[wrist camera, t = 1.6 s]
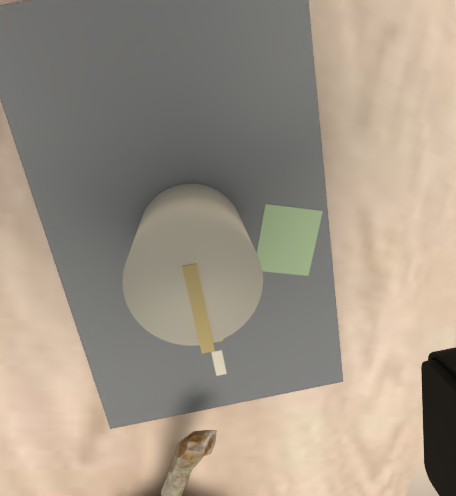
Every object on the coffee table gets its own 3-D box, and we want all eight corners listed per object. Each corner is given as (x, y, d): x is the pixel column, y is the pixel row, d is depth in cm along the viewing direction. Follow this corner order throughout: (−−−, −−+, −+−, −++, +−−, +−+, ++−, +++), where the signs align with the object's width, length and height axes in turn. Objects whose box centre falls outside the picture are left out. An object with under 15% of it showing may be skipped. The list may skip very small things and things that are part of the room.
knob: (129, 191, 21) (105, 233, 14) (232, 172, 21) (252, 205, 15) (167, 342, 24) (161, 431, 17) (257, 324, 24) (283, 407, 17)
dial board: (-13, 16, 19) (-30, 9, 18) (295, -37, 20) (304, -47, 18) (114, 411, 27) (110, 429, 25) (335, 366, 27) (343, 382, 26)
